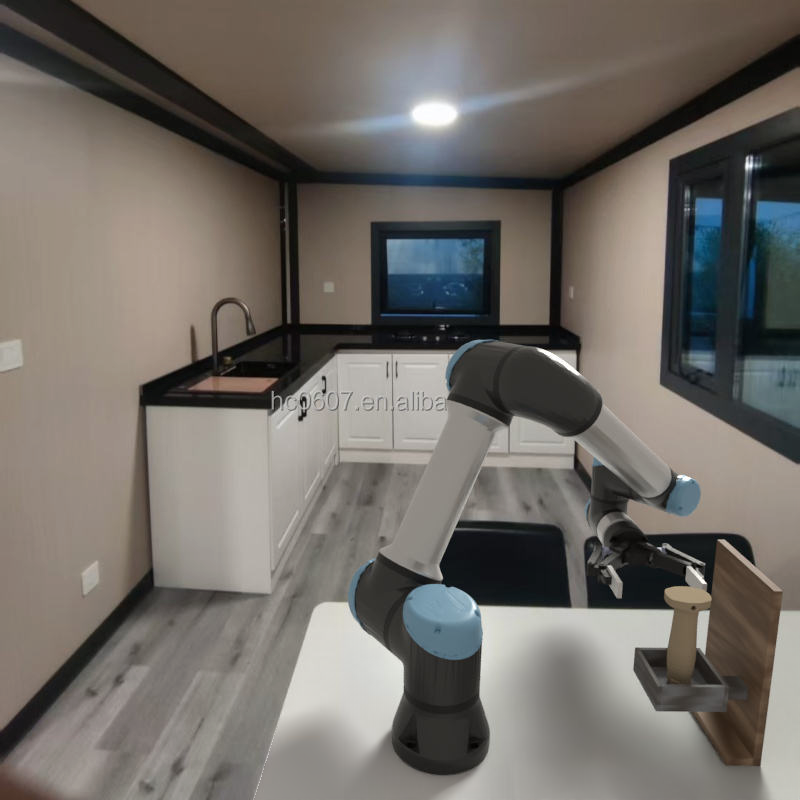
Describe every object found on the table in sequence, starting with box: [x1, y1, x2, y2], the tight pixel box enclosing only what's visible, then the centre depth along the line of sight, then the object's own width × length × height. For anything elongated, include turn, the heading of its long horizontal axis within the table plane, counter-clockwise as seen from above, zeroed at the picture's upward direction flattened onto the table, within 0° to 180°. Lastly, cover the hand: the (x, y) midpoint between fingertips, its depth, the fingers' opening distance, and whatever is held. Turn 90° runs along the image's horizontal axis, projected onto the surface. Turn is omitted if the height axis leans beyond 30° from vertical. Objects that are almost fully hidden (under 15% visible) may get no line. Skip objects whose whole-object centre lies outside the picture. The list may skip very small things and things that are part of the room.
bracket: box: [632, 539, 784, 767], centre depth 108 cm, size 16×18×28 cm
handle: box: [663, 585, 712, 685], centre depth 103 cm, size 5×6×15 cm
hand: (662, 591), depth 112 cm, fingers open, 13 cm apart
